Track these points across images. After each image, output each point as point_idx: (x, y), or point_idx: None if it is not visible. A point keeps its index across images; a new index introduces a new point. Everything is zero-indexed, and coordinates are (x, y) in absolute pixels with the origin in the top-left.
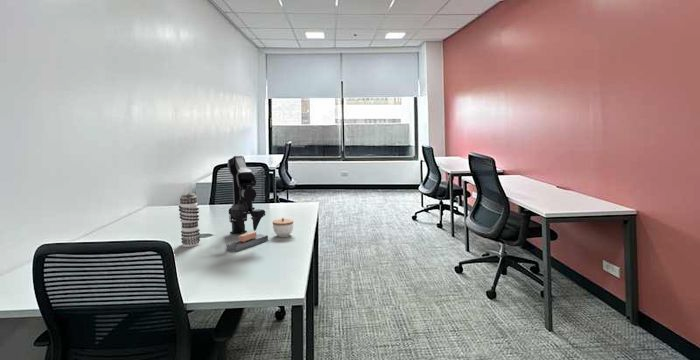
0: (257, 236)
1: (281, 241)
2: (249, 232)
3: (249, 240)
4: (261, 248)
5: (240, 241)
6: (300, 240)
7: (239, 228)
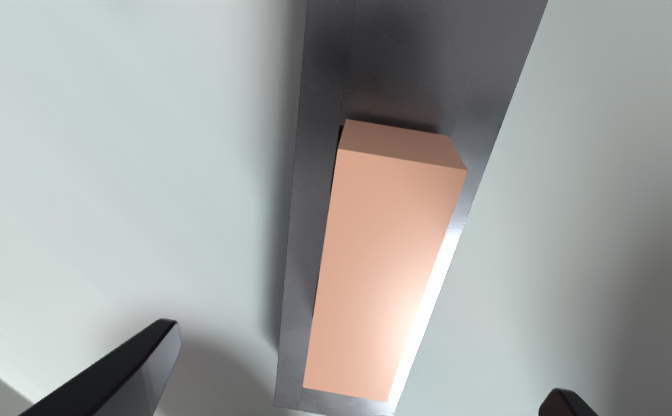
0: None
1: None
2: (385, 362)
3: None
4: (141, 137)
5: None
6: None
7: (569, 390)
